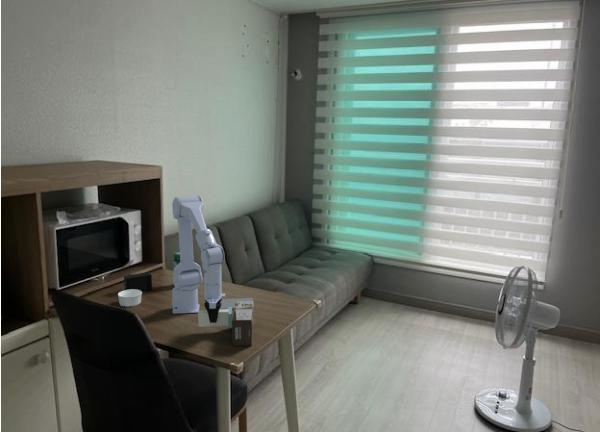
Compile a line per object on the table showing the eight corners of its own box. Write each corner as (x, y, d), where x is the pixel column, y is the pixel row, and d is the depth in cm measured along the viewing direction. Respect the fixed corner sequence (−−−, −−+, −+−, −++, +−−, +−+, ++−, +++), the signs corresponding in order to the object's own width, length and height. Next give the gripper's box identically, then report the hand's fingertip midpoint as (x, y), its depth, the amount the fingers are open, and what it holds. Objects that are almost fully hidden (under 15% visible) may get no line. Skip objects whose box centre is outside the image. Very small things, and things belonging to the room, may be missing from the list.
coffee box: (235, 301, 161) (231, 319, 145) (253, 300, 162) (252, 319, 146) (235, 325, 163) (231, 346, 147) (253, 325, 163) (252, 346, 148)
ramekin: (119, 300, 184) (118, 290, 183) (142, 298, 186) (141, 288, 186) (117, 308, 176) (117, 297, 175) (142, 306, 178) (141, 295, 177)
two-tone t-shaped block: (197, 329, 153) (197, 315, 152) (199, 321, 159) (198, 308, 158) (231, 327, 155) (232, 313, 154) (231, 320, 161) (231, 307, 160)
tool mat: (206, 310, 175) (206, 309, 175) (207, 301, 185) (207, 299, 185) (254, 308, 178) (254, 307, 178) (252, 299, 188) (252, 298, 187)
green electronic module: (174, 283, 204) (172, 251, 201) (187, 282, 206) (187, 250, 203) (175, 288, 198) (174, 254, 196) (189, 286, 201) (188, 253, 198)
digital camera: (148, 286, 200) (148, 271, 199) (152, 290, 196) (151, 274, 194) (123, 290, 195) (123, 274, 193) (127, 294, 190) (126, 278, 189)
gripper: (225, 289, 147) (225, 329, 150) (225, 275, 161) (225, 311, 164) (202, 290, 146) (203, 330, 149) (204, 275, 160) (205, 312, 163)
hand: (213, 320), depth 156 cm, fingers closed on two-tone t-shaped block, 2 cm apart
